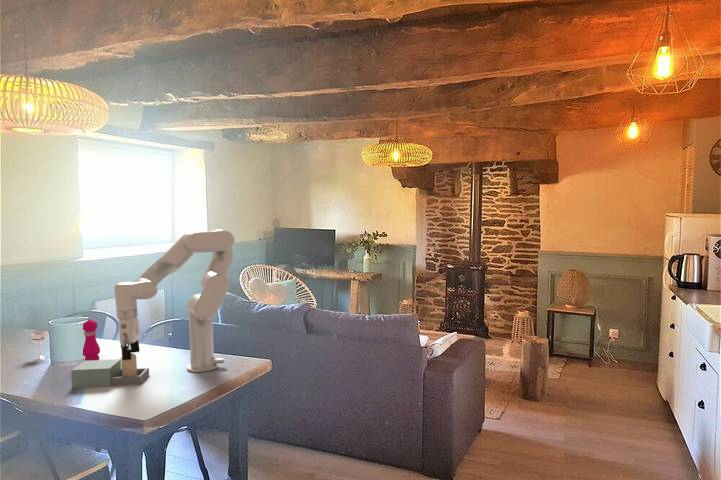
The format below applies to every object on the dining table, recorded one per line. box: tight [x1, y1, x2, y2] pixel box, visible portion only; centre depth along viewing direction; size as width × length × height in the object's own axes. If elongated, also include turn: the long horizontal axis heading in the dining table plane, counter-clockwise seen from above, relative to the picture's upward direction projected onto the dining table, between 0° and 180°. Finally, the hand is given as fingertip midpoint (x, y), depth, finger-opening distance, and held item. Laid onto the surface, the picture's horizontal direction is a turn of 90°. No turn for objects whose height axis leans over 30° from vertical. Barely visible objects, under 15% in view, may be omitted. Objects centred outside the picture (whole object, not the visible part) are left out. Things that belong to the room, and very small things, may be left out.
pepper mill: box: [82, 316, 101, 361], centre depth 229 cm, size 7×7×20 cm
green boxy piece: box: [70, 358, 150, 389], centre depth 201 cm, size 25×12×7 cm, turn 96°
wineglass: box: [30, 329, 49, 360], centre depth 235 cm, size 7×7×12 cm
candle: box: [120, 353, 138, 377], centre depth 202 cm, size 6×6×10 cm
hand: (131, 355), depth 202 cm, fingers open, 9 cm apart
